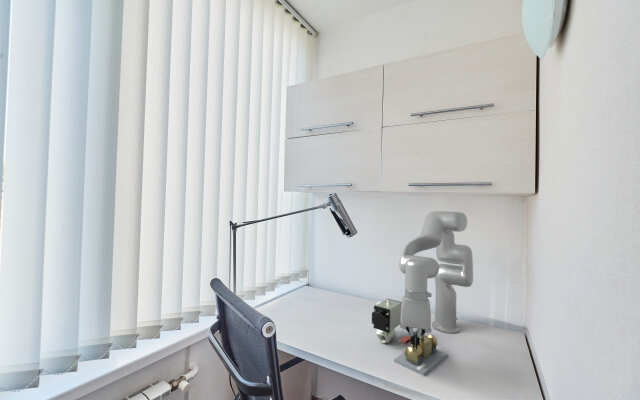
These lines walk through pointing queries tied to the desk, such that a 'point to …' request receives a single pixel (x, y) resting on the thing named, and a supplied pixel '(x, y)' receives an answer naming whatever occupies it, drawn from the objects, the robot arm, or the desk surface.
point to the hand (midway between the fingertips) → (415, 346)
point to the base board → (427, 362)
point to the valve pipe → (421, 349)
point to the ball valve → (386, 319)
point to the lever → (406, 339)
